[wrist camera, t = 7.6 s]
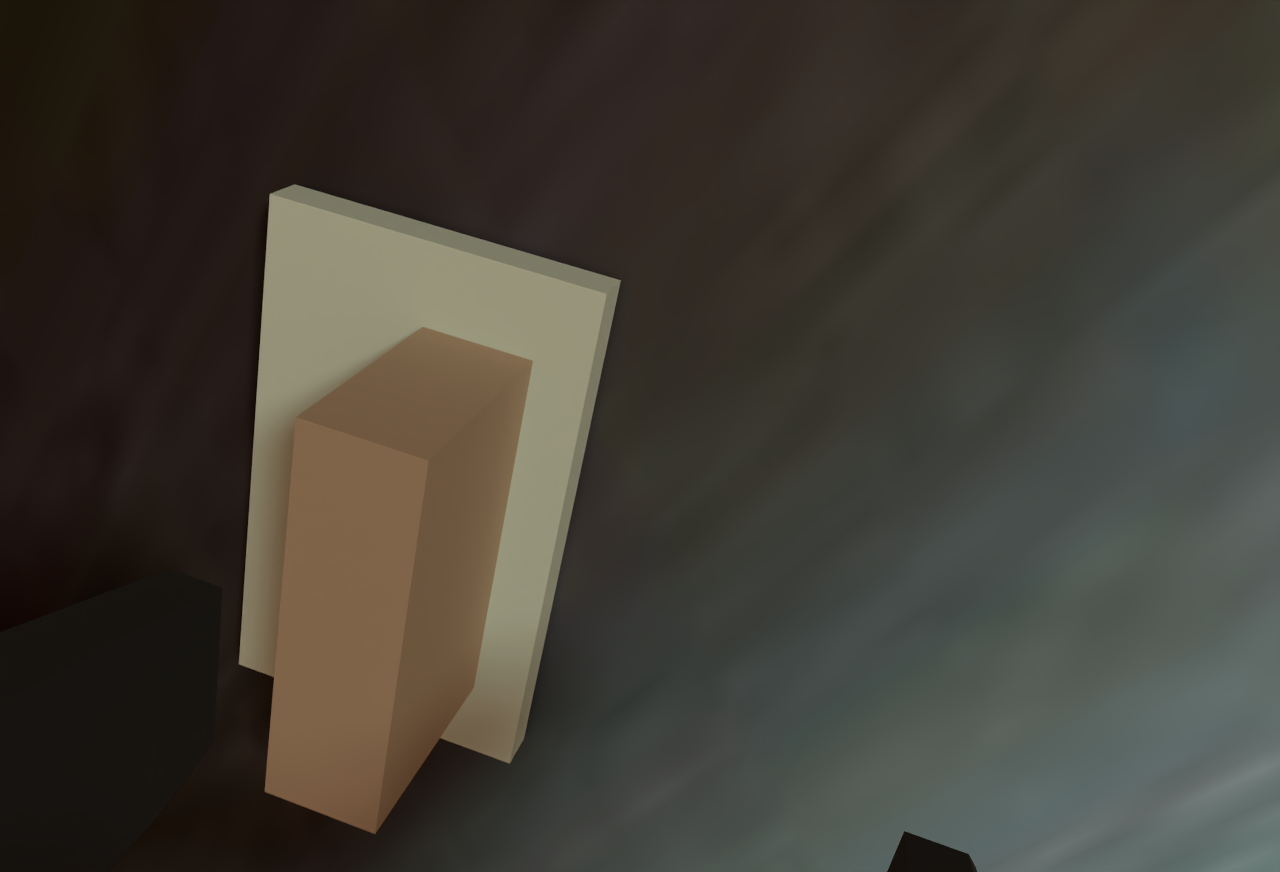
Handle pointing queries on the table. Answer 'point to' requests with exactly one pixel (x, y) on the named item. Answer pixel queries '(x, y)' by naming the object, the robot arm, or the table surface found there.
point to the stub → (407, 491)
